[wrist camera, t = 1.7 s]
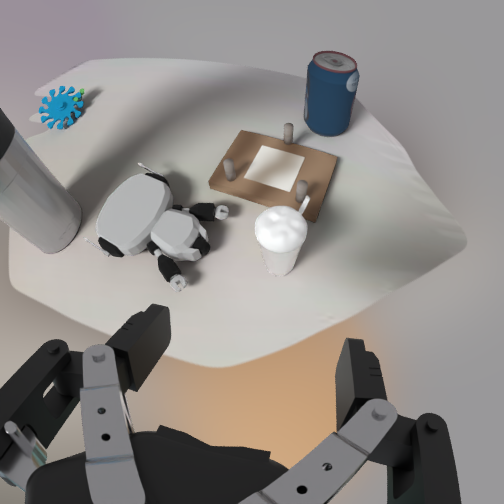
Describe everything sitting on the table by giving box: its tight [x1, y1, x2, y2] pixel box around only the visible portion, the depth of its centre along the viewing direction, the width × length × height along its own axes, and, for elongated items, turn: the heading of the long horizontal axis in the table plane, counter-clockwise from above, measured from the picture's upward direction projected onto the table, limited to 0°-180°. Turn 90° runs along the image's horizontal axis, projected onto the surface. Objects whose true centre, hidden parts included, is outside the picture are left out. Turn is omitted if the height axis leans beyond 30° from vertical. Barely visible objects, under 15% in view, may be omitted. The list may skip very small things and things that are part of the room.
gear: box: [39, 86, 84, 129], centre depth 47 cm, size 11×6×10 cm
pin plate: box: [208, 123, 337, 222], centre depth 36 cm, size 14×11×4 cm
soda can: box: [304, 51, 359, 137], centre depth 36 cm, size 7×7×12 cm
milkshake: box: [255, 195, 310, 276], centre depth 29 cm, size 5×5×10 cm
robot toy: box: [83, 163, 229, 291], centre depth 34 cm, size 12×4×15 cm
